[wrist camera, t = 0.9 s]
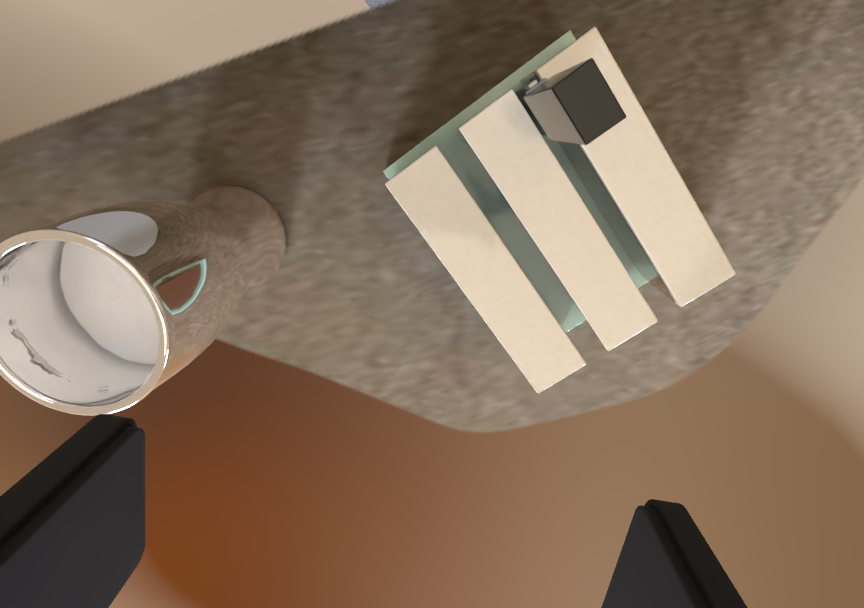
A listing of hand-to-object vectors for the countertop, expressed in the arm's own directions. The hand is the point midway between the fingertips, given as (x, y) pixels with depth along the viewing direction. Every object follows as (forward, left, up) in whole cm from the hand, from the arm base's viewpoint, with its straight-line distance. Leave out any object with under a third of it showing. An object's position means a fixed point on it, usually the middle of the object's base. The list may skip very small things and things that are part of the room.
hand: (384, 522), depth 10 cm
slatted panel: (+2, +7, -23) cm, 24 cm away
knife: (-3, +9, -22) cm, 24 cm away
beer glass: (-7, -9, -23) cm, 26 cm away
